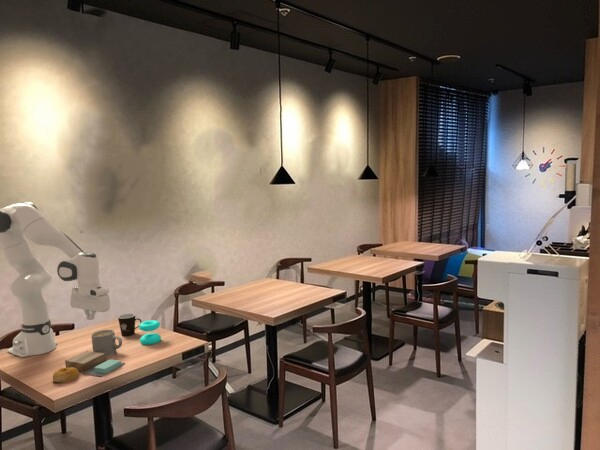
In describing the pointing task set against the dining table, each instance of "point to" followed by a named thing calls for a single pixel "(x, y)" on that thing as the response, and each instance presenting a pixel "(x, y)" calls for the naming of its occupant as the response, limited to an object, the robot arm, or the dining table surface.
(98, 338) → the coffee mug
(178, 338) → the dining table surface
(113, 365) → the mint green block
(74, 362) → the brown block
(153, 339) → the donuts
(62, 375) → the bagel
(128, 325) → the coffee mug
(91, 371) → the mat
